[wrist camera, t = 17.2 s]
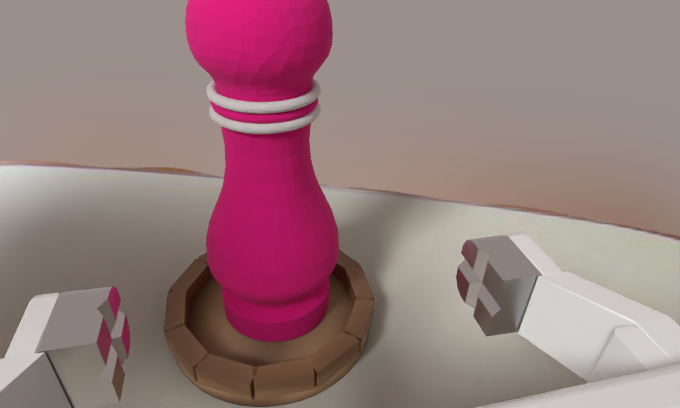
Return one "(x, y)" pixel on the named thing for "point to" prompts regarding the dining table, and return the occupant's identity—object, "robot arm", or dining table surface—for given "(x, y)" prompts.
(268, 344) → the stand
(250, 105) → the pepper mill
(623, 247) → the dining table surface
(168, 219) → the dining table surface
